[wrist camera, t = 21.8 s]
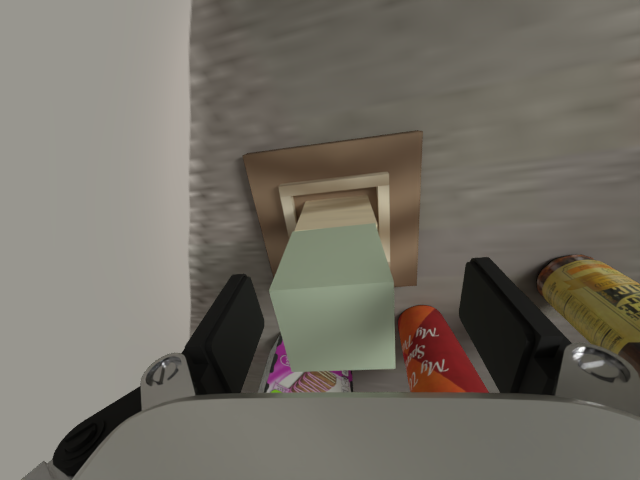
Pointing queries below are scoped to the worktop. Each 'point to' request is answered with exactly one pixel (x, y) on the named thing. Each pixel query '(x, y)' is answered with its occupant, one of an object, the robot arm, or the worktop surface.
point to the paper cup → (435, 354)
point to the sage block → (335, 300)
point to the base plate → (343, 191)
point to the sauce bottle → (595, 303)
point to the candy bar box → (300, 376)
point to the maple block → (336, 213)
